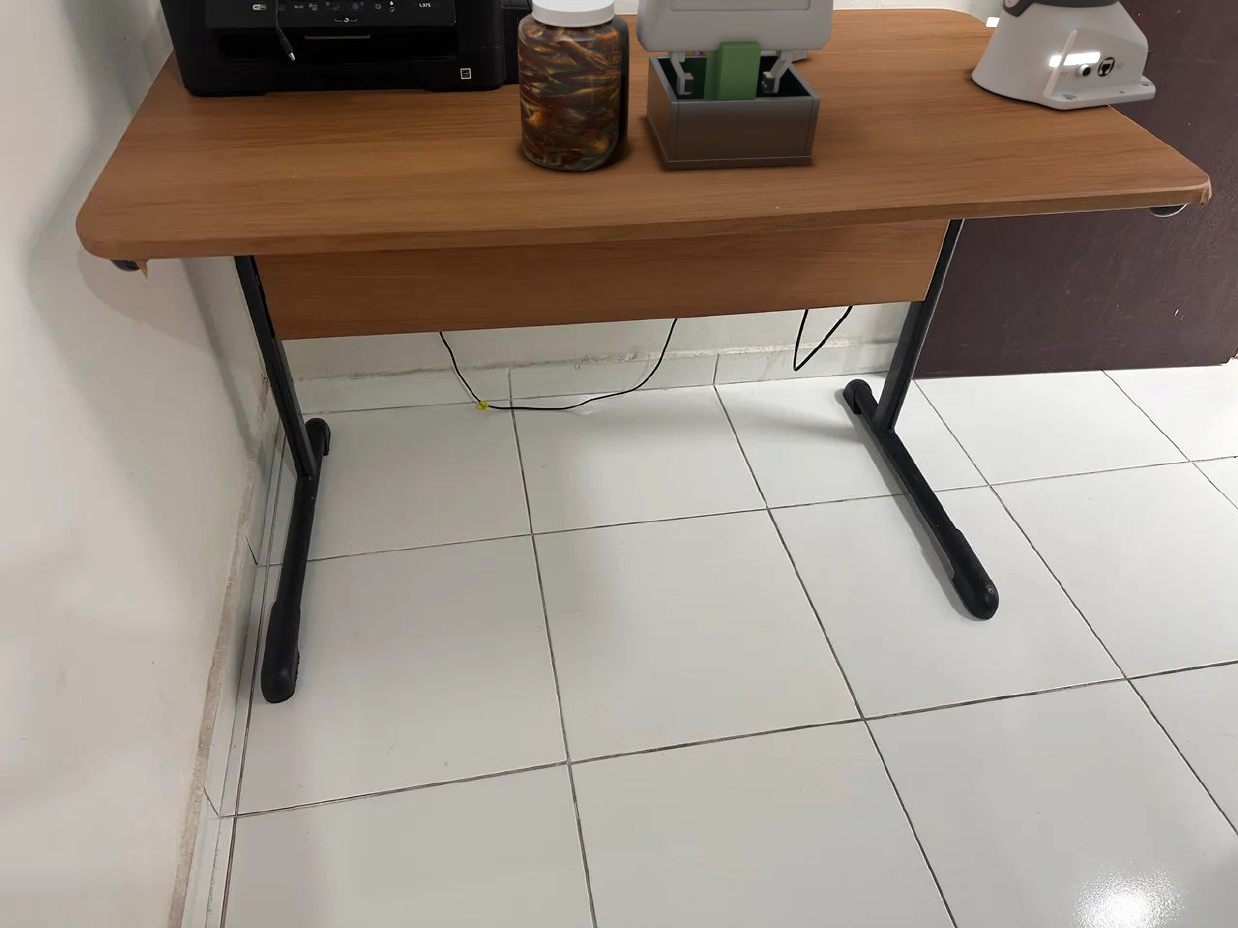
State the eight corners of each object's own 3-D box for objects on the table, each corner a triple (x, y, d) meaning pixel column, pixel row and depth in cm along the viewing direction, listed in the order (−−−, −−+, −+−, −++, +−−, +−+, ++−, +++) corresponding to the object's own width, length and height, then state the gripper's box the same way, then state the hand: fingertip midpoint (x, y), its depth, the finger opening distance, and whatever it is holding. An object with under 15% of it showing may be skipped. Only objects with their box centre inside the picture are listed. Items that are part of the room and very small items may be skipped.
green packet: (735, 119, 100) (745, 26, 93) (750, 143, 95) (762, 46, 88) (701, 120, 99) (709, 26, 93) (714, 144, 94) (723, 47, 88)
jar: (646, 161, 93) (653, 9, 83) (545, 179, 89) (539, 22, 79) (601, 122, 101) (602, -21, 91) (506, 137, 97) (496, -11, 87)
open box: (774, 114, 104) (783, 52, 99) (809, 165, 93) (821, 98, 89) (646, 118, 102) (648, 55, 98) (667, 170, 92) (671, 103, 87)
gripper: (834, -60, 88) (810, 81, 98) (636, -61, 86) (631, 83, 95) (854, -45, 84) (827, 101, 93) (646, -46, 81) (639, 104, 91)
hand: (726, 92), depth 94 cm, fingers open, 8 cm apart
